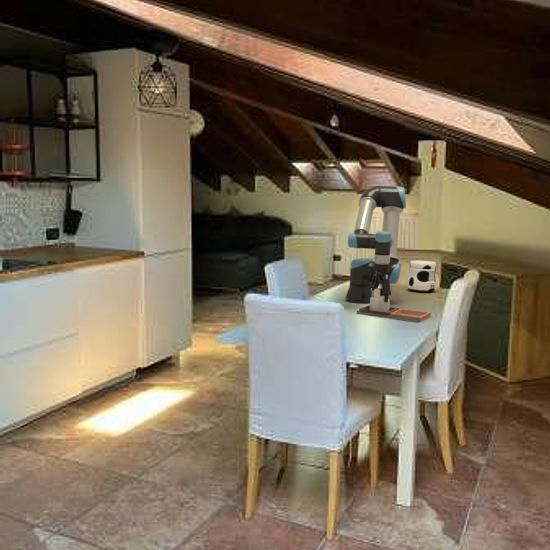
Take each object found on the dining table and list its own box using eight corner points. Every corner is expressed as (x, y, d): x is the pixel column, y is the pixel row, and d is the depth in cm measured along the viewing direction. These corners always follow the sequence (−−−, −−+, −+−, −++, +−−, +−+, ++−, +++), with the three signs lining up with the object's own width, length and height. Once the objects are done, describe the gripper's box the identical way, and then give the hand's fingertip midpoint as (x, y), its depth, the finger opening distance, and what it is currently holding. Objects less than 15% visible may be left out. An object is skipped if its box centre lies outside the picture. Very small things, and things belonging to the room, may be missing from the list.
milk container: (407, 288, 381) (408, 259, 379) (435, 290, 377) (437, 261, 374) (405, 292, 364) (407, 262, 362) (435, 294, 360) (437, 264, 358)
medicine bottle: (381, 310, 305) (382, 287, 303) (389, 313, 298) (390, 289, 297) (369, 311, 302) (370, 287, 301) (376, 314, 296) (377, 290, 294)
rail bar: (358, 313, 298) (358, 310, 297) (419, 321, 281) (420, 319, 281) (356, 313, 296) (356, 311, 296) (418, 322, 280) (418, 320, 279)
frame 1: (371, 308, 311) (371, 304, 310) (399, 312, 303) (399, 308, 302) (358, 312, 298) (359, 308, 298) (387, 317, 290) (387, 312, 290)
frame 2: (401, 312, 302) (401, 308, 302) (430, 316, 294) (430, 312, 294) (389, 317, 290) (389, 313, 289) (420, 321, 282) (420, 317, 281)
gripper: (365, 260, 308) (363, 301, 311) (384, 266, 284) (382, 311, 287) (379, 260, 310) (377, 301, 313) (399, 266, 286) (397, 310, 289)
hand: (379, 306), depth 300 cm, fingers open, 13 cm apart
